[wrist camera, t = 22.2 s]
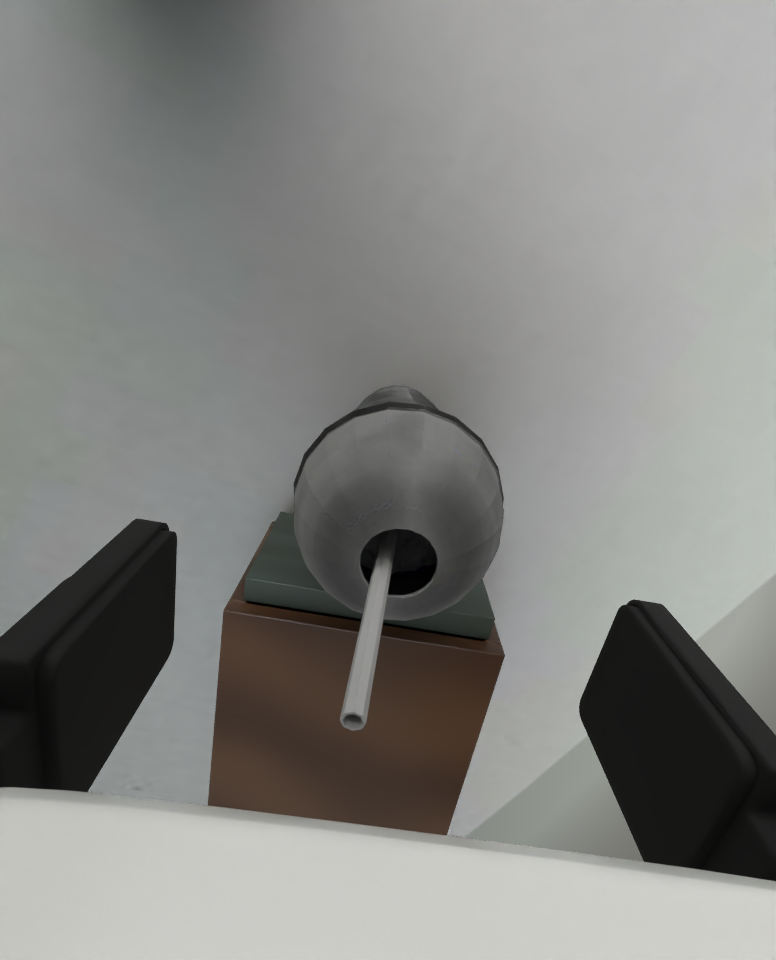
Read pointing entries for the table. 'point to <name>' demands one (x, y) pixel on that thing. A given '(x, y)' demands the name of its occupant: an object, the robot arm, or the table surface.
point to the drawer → (295, 588)
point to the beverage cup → (395, 519)
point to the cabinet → (319, 732)
